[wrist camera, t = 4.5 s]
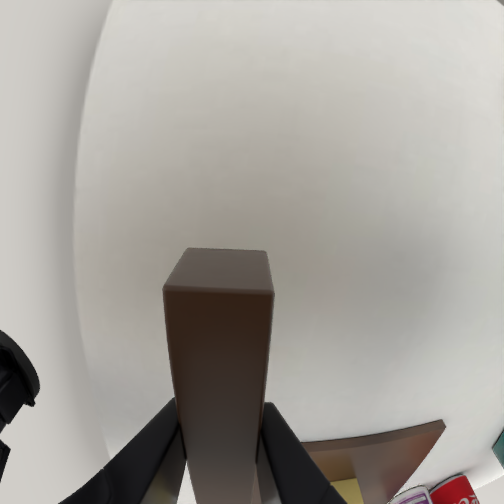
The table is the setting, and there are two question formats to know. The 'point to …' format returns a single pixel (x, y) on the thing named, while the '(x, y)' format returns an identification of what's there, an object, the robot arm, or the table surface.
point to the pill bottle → (413, 497)
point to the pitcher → (500, 449)
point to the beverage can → (454, 492)
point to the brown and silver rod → (220, 365)
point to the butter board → (373, 460)
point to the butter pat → (349, 490)
